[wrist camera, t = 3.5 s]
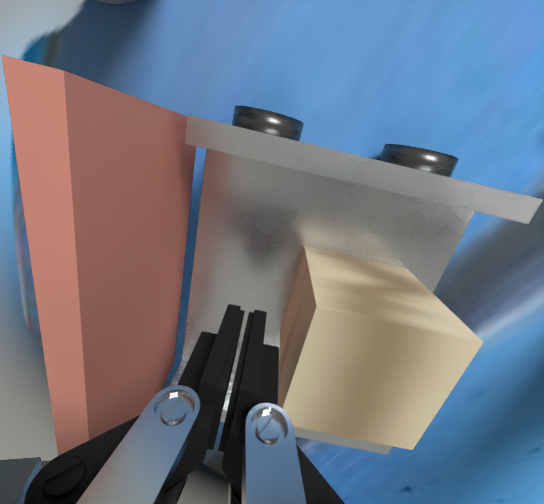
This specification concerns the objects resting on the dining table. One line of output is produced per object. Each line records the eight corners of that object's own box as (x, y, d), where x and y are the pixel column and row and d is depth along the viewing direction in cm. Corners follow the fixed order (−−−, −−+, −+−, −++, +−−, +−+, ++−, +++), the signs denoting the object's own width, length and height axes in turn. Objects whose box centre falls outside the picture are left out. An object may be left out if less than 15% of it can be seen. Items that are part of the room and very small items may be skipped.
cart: (441, 160, 17) (562, 168, 10) (350, 367, 24) (380, 466, 16) (233, 110, 17) (190, 77, 9) (200, 336, 23) (160, 423, 16)
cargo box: (407, 269, 15) (483, 342, 9) (370, 350, 17) (412, 449, 11) (304, 246, 14) (316, 306, 9) (280, 331, 17) (277, 423, 11)
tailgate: (198, 120, 13) (63, 70, 4) (174, 362, 19) (95, 536, 10) (170, 113, 13) (-24, 48, 4) (154, 359, 19) (58, 533, 10)
